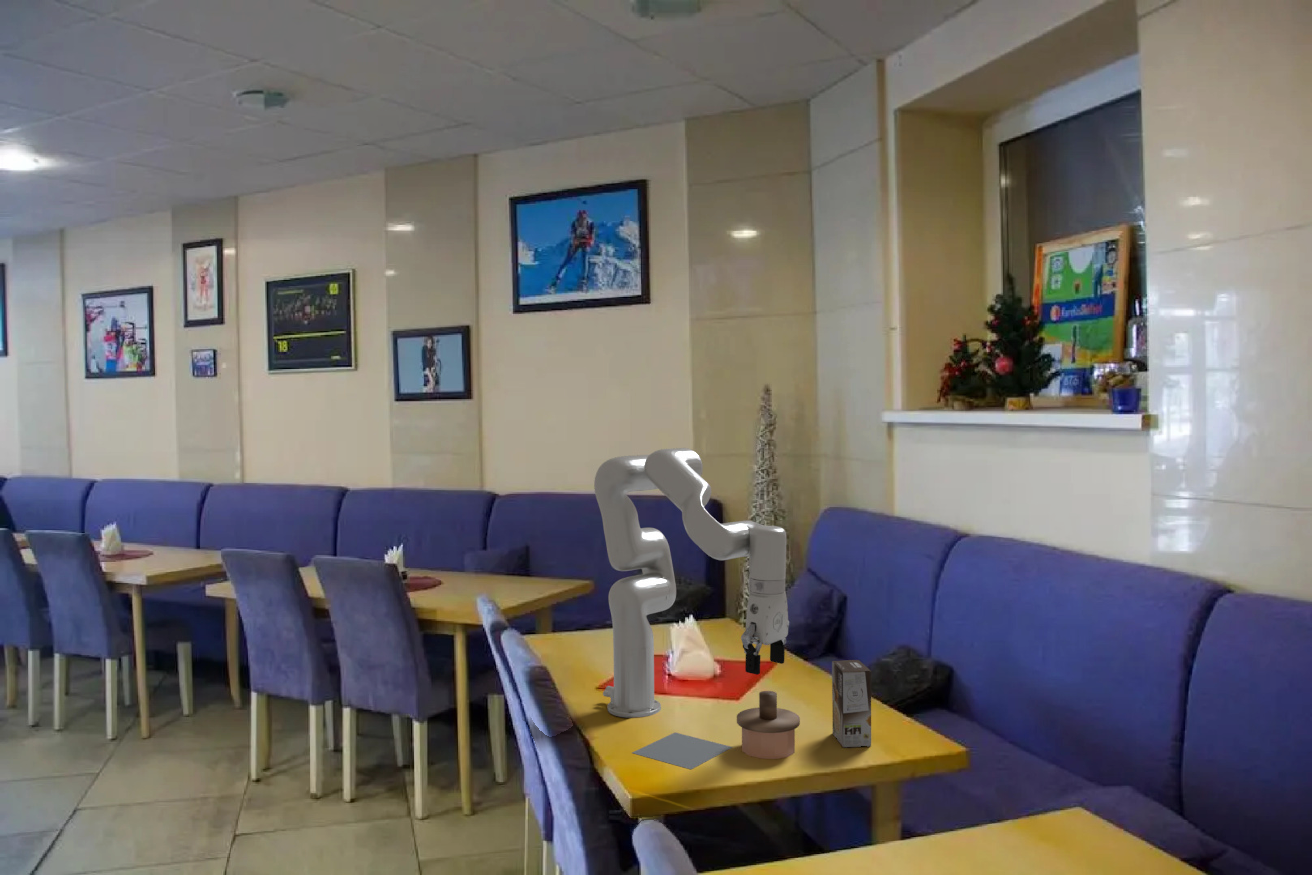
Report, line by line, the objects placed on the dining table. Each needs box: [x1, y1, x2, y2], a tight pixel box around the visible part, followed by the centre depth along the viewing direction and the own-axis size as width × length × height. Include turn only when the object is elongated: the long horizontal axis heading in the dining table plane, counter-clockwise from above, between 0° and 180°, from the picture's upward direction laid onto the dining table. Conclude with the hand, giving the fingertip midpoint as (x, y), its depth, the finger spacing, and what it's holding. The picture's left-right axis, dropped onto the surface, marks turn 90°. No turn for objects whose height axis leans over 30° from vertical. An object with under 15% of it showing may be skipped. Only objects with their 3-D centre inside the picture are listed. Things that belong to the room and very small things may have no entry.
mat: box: [631, 732, 733, 770], centre depth 195 cm, size 15×15×1 cm
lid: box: [736, 690, 801, 733], centre depth 195 cm, size 13×13×6 cm
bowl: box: [741, 727, 796, 760], centre depth 195 cm, size 11×11×6 cm
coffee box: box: [831, 659, 872, 748], centre depth 201 cm, size 9×6×16 cm
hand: (765, 667), depth 196 cm, fingers open, 9 cm apart
